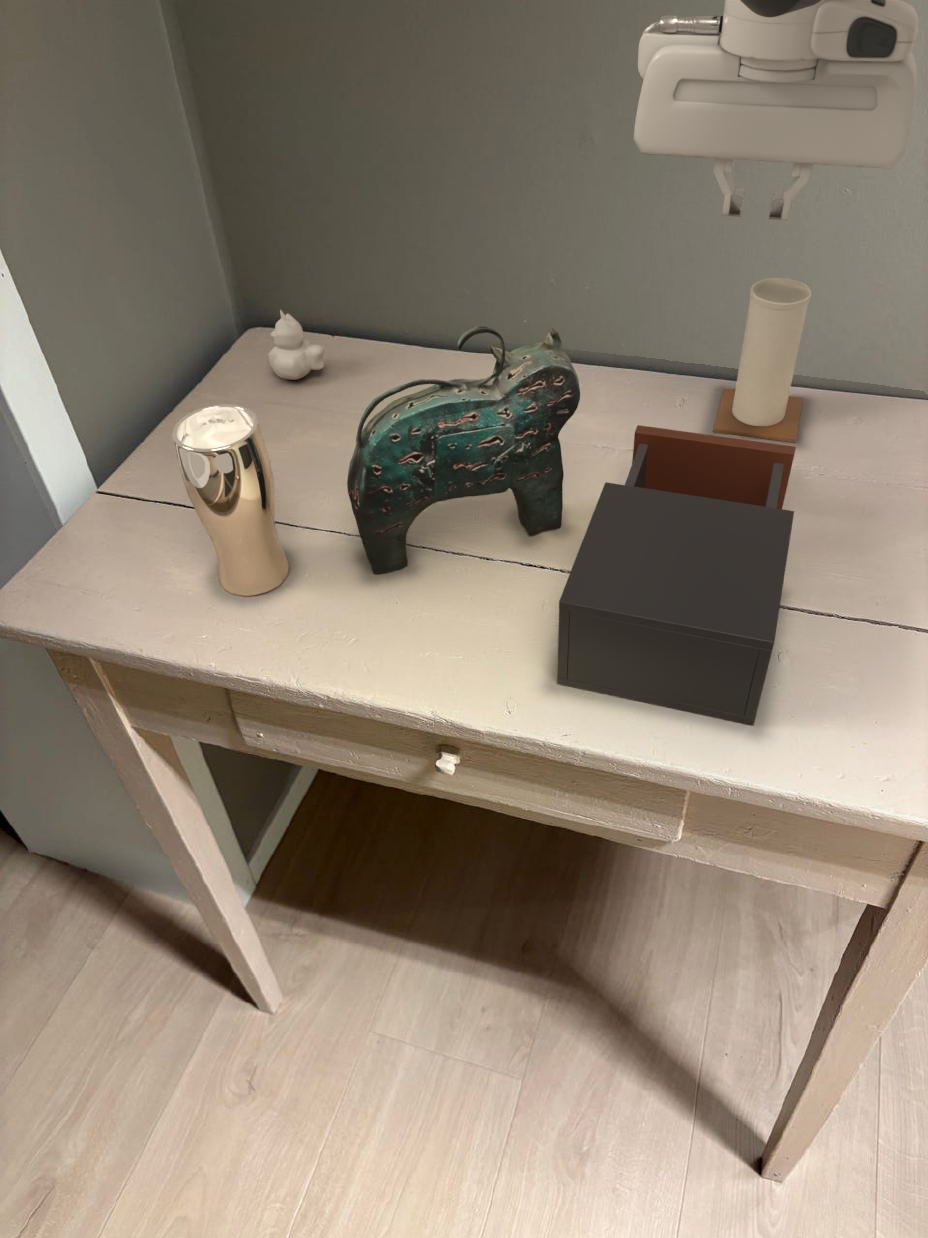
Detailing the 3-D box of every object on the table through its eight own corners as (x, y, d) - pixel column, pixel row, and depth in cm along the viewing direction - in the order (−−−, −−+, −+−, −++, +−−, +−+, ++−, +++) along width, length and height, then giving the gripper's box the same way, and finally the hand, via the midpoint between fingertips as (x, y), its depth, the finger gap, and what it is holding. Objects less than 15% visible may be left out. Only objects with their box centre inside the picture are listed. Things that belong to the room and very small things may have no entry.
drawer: (641, 461, 92) (646, 399, 87) (786, 482, 88) (800, 418, 83) (598, 581, 80) (602, 516, 75) (764, 611, 76) (779, 545, 71)
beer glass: (307, 555, 85) (276, 408, 75) (271, 606, 81) (232, 458, 70) (238, 542, 87) (198, 397, 77) (199, 591, 83) (151, 444, 72)
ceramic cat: (559, 496, 90) (564, 292, 76) (587, 537, 85) (598, 328, 71) (354, 547, 86) (319, 342, 72) (372, 593, 81) (338, 383, 68)
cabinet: (600, 563, 83) (605, 481, 77) (774, 594, 79) (794, 510, 73) (556, 684, 73) (558, 601, 67) (753, 726, 69) (774, 642, 63)
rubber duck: (282, 361, 111) (269, 295, 105) (336, 366, 110) (325, 299, 104) (264, 385, 107) (249, 318, 102) (319, 390, 106) (307, 323, 100)
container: (788, 402, 99) (813, 280, 90) (783, 430, 95) (809, 306, 86) (734, 395, 100) (754, 275, 91) (727, 423, 96) (747, 300, 87)
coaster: (802, 400, 99) (803, 397, 99) (795, 442, 94) (796, 439, 94) (724, 391, 102) (724, 387, 101) (712, 431, 96) (713, 428, 96)
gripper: (631, 25, 68) (619, 220, 78) (940, 32, 63) (886, 241, 72) (648, 4, 73) (635, 191, 82) (939, 9, 67) (888, 210, 77)
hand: (755, 215), depth 77 cm, fingers closed
